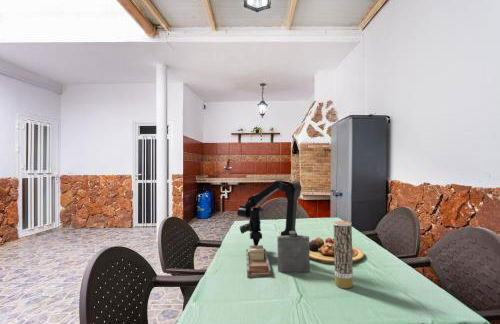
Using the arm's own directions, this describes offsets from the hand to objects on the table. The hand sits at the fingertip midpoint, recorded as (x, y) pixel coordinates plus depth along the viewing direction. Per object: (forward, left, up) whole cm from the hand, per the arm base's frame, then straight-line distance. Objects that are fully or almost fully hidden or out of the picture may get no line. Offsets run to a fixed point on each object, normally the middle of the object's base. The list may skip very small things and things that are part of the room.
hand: (255, 247), depth 149 cm
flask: (-29, -3, -4) cm, 30 cm away
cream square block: (-8, +4, -2) cm, 9 cm away
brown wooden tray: (-13, +7, -4) cm, 15 cm away
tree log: (-51, -11, -4) cm, 52 cm away
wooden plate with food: (-22, -35, -4) cm, 41 cm away
